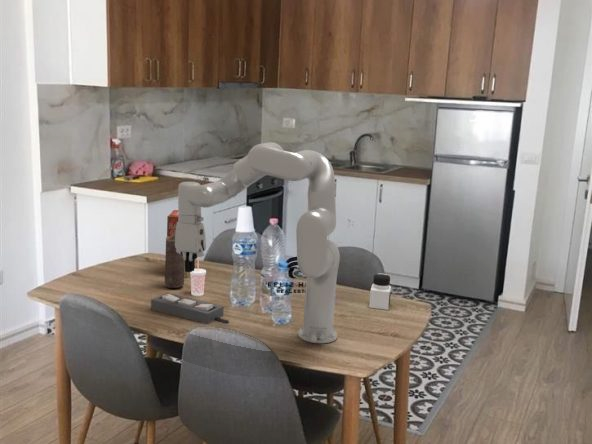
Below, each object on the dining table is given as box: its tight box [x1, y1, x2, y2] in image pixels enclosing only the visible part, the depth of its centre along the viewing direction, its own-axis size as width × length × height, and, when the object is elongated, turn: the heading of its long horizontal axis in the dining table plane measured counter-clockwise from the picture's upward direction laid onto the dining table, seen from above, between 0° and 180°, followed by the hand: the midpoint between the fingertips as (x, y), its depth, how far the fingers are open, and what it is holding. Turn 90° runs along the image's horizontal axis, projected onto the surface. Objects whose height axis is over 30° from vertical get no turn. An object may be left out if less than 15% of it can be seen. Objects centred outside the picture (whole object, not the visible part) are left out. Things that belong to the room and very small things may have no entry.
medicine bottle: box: [368, 273, 392, 311], centre depth 238 cm, size 7×7×12 cm
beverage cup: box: [189, 257, 207, 297], centre depth 240 cm, size 6×6×14 cm
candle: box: [164, 236, 185, 289], centre depth 246 cm, size 8×7×20 cm
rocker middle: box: [178, 298, 196, 306], centre depth 221 cm, size 5×4×1 cm
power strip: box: [150, 292, 230, 325], centre depth 221 cm, size 29×9×4 cm, turn 62°
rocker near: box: [195, 303, 214, 311], centre depth 218 cm, size 5×4×1 cm
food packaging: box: [166, 209, 190, 279], centre depth 264 cm, size 13×9×25 cm
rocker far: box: [162, 293, 180, 302], centre depth 224 cm, size 5×4×1 cm
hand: (189, 271), depth 221 cm, fingers closed
